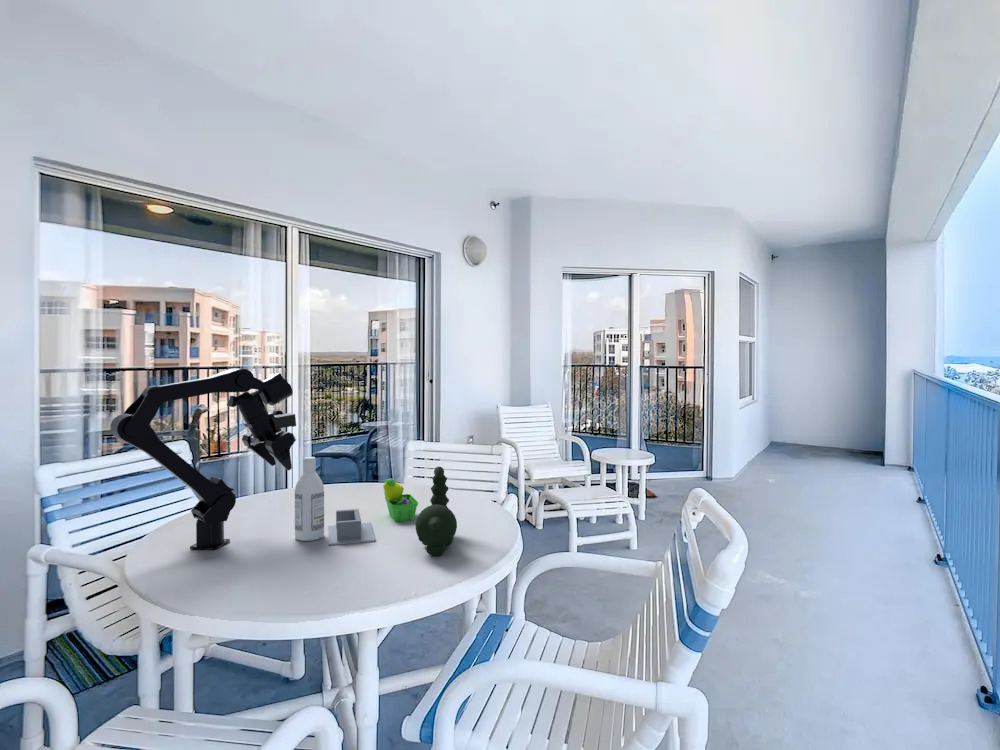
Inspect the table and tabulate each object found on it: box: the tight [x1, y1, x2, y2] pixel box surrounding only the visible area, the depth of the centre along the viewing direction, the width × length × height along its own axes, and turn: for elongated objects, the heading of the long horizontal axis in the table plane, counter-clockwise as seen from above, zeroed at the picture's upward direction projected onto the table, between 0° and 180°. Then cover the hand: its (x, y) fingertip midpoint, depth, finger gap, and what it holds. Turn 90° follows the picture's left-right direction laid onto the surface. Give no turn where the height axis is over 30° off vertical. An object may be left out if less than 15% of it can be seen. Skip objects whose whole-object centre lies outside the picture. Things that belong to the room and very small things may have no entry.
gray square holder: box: [327, 508, 376, 546], centre depth 147 cm, size 11×16×5 cm
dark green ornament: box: [415, 466, 458, 557], centre depth 137 cm, size 9×19×25 cm
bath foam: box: [294, 456, 325, 542], centre depth 143 cm, size 7×7×20 cm
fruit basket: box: [383, 477, 419, 523], centre depth 163 cm, size 11×9×11 cm
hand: (281, 467), depth 149 cm, fingers open, 9 cm apart
